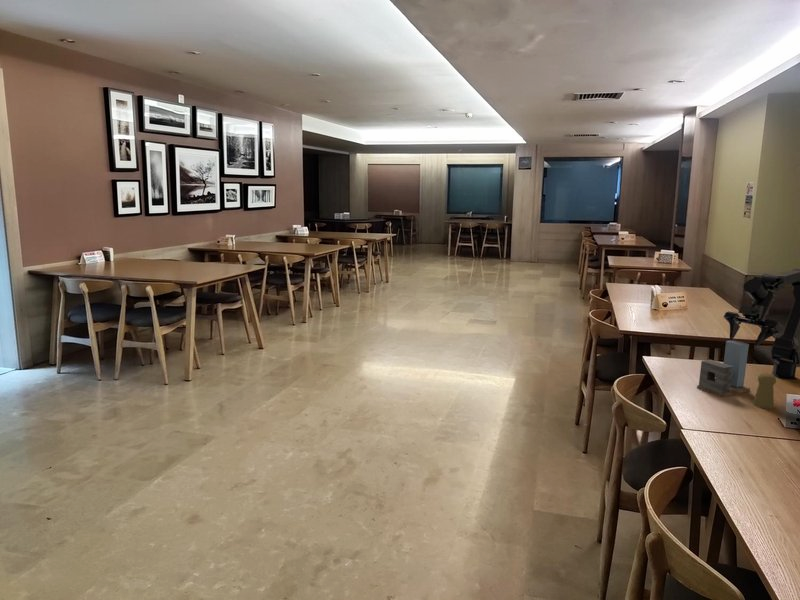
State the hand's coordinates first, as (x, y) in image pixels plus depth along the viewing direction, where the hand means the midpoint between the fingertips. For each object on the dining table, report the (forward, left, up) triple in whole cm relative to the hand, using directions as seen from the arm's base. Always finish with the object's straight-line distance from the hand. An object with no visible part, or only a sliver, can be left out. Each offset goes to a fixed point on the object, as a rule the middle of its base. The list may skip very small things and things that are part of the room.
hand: (742, 342), depth 208 cm
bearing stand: (+5, +2, -18) cm, 18 cm away
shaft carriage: (+4, +1, -16) cm, 17 cm away
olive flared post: (-2, +16, -18) cm, 24 cm away
